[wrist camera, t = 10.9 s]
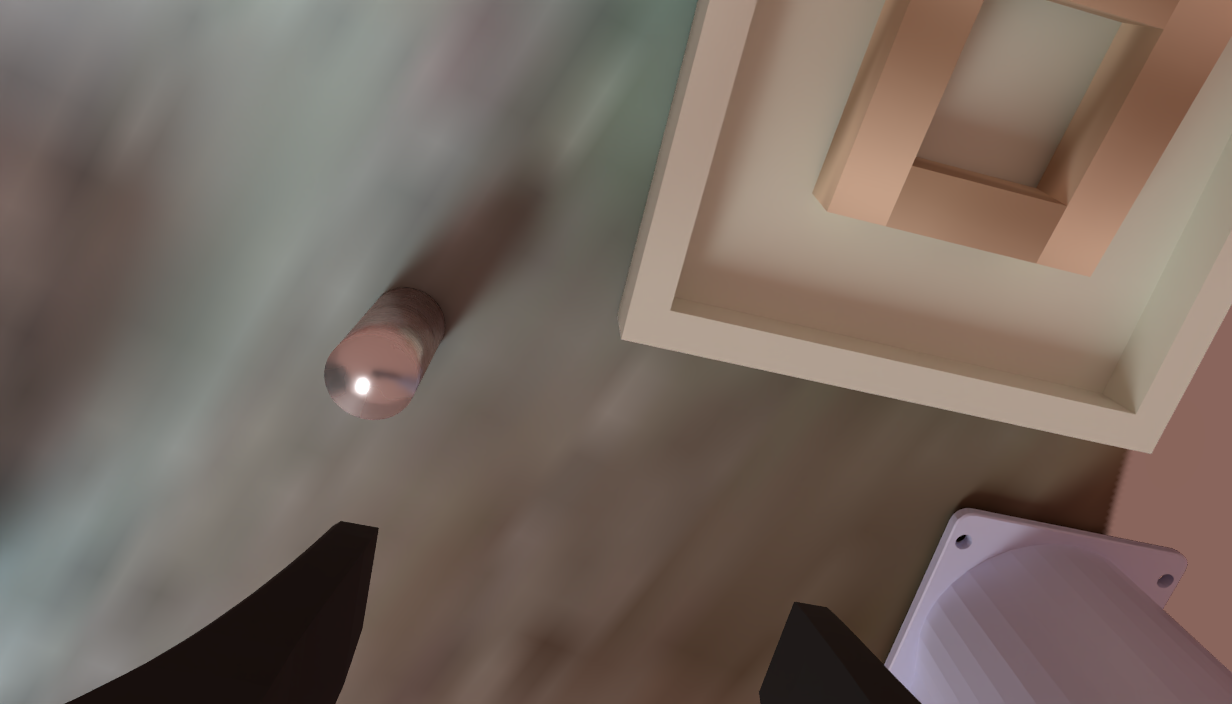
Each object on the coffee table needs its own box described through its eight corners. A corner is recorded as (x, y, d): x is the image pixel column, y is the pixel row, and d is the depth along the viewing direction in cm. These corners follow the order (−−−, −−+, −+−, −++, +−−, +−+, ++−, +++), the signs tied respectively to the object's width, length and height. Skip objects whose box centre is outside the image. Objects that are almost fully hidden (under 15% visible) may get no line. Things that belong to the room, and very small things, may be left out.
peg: (438, 364, 21) (408, 427, 17) (365, 349, 21) (319, 410, 17) (451, 296, 21) (422, 346, 17) (375, 280, 20) (329, 327, 17)
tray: (1104, 422, 23) (1151, 454, 21) (617, 315, 21) (621, 339, 19) (1389, -143, 18) (1484, -168, 16) (787, -349, 16) (815, -404, 14)
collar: (1058, 255, 20) (1168, 331, 16) (812, 193, 19) (864, 258, 15) (1306, -189, 16) (1541, -232, 12) (997, -296, 15) (1140, -382, 11)
